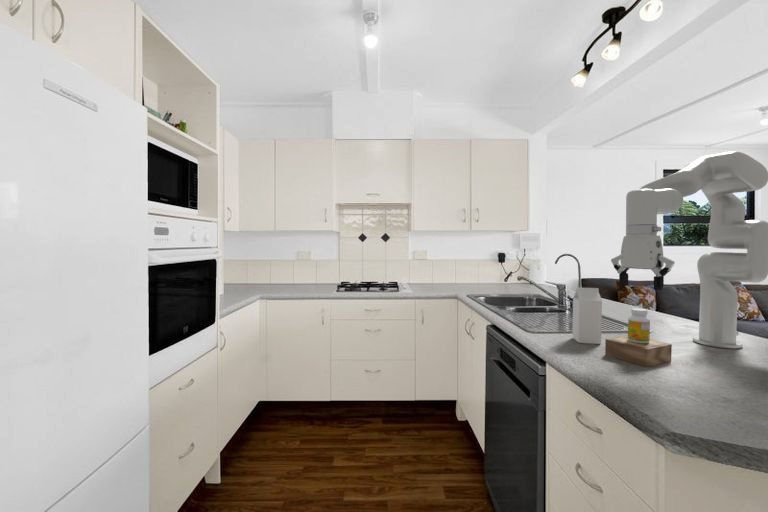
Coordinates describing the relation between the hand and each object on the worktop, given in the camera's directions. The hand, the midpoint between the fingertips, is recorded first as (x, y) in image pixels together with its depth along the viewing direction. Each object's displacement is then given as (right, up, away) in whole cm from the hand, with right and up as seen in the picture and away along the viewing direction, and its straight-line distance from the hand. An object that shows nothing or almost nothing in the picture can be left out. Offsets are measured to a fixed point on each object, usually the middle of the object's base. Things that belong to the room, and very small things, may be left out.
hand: (640, 287), depth 109 cm
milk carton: (-6, -21, +19) cm, 29 cm away
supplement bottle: (0, -16, 0) cm, 16 cm away
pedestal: (0, -21, +1) cm, 21 cm away
